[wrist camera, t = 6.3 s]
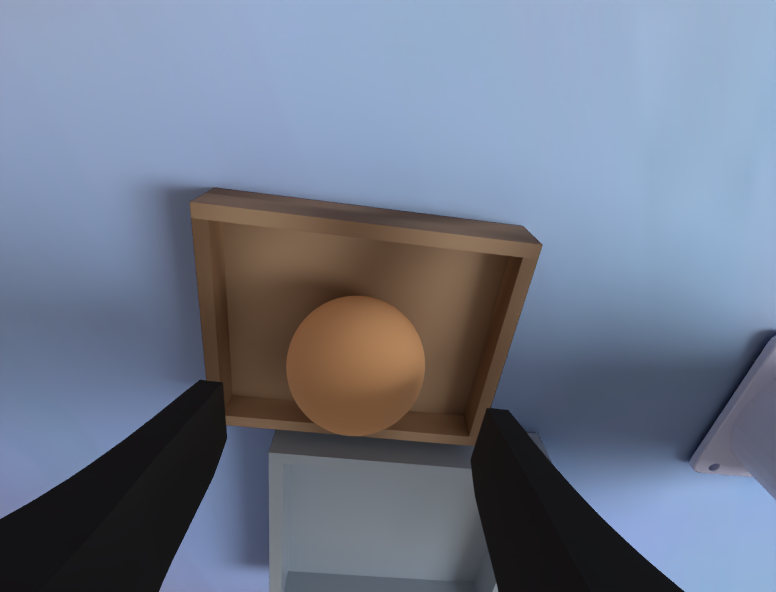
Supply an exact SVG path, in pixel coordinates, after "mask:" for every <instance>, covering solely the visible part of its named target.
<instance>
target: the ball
mask: <svg viewBox="0 0 776 592" xmlns="http://www.w3.org/2000/svg"><path fill="white" fill-rule="evenodd" d="M286 372H287V379H288V384H289V388H290V391H291V393H292V396H293V398H294V400H295V402H296V403H297V405H298V407H299V408H300V409H301V410H302V412H303V413H304V414H305V415H306V416H307V417H308V418H309V419H310V420H311V421H313V422H314V423H315V424H317V425H318V426H320V427H322V428H324V429H326V430H328V431H330V432H333V433H336V434H340V435H346V436H364V435H370V434H373V433H377V432H379V431H382V430H384V429H386V428H388V427H390V426H392V425H393V424H395V423H396V422H397V421H398V420H400V419H401V418H402V417H403V416H404V415H405V414H406V413H407V412H408V411H409V410H410V408H411V407H412V405H413V404H414V402H415V401H416V399H417V397H418V395H419V393H420V390H421V387H422V384H423V380H424V373H425V355H424V350H423V346H422V343H421V340H420V337H419V335H418V333H417V331H416V330H415V328H414V326H413V325H412V323H411V322H410V321H409V319H408V318H407V317H406V316H405V315H404V314H403V313H401V312H400V311H399V310H398V309H397V308H395V307H394V306H392V305H390V304H389V303H387V302H384V301H382V300H379V299H376V298H372V297H367V296H346V297H341V298H337V299H334V300H331V301H329V302H327V303H324V304H323V305H321V306H320V307H318V308H316V309H315V310H314V311H312V312H311V313H310V314H309V315H308V316H307V317H306V318H305V319H304V320H303V322H302V323H301V324H300V325H299V327H298V328H297V330H296V332H295V334H294V336H293V338H292V340H291V342H290V346H289V349H288V354H287V361H286Z"/></svg>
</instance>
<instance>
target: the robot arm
mask: <svg viewBox="0 0 776 592" xmlns="http://www.w3.org/2000/svg"><path fill="white" fill-rule="evenodd" d="M226 440H227V432H226V417H225V403H224V389H223V382H215V381H205V380H199V381H198V382H197V383H195V384H194V385H193V386H191V387H190V388H189V389H188V390H186V391H185V392H184V393H183V394H181V395H180V396H179V397H178V398H177V399H175V400H174V401H173V402H172V403H170V404H169V405H168V406H167V407H165V408H164V409H163V410H162V411H160V412H159V413H158V414H157V415H156V416H154V417H153V418H152V419H150V420H149V421H148V422H147V423H145V424H144V425H143V426H141V427H140V428H139V429H138V430H136V431H135V432H134V433H132V434H131V435H130V436H128V437H127V438H126V439H124V440H123V441H122V442H120V443H119V444H118V445H116V446H115V447H113V448H112V449H111V450H109V451H108V452H106V453H105V454H104V455H102V456H101V457H99V458H98V459H97V460H95V461H94V462H92V463H91V464H90V465H88V466H87V467H85V468H84V469H82V470H81V471H79V472H78V473H76V474H75V475H73V476H72V477H70V478H69V479H67V480H66V481H64V482H63V483H61V484H59V485H58V486H56V487H54V488H53V489H51V490H50V491H48V492H46V493H45V494H43V495H42V496H40V497H38V498H37V499H35V500H33V501H32V502H30V503H28V504H27V505H25V506H23V507H21V508H19V509H18V510H16V511H14V512H12V513H10V514H9V515H7V516H5V517H3V518H2V519H0V592H159V590H160V588H161V585H162V583H163V580H164V578H165V576H166V574H167V571H168V569H169V567H170V565H171V562H172V560H173V558H174V556H175V554H176V552H177V550H178V548H179V546H180V544H181V542H182V540H183V538H184V536H185V534H186V532H187V530H188V528H189V526H190V524H191V522H192V520H193V518H194V516H195V514H196V511H197V509H198V507H199V505H200V503H201V501H202V499H203V497H204V495H205V493H206V491H207V489H208V487H209V485H210V483H211V480H212V478H213V476H214V474H215V471H216V468H217V466H218V463H219V460H220V457H221V454H222V451H223V448H224V446H225V443H226ZM470 461H471V470H472V479H473V486H474V493H475V499H476V503H477V507H478V512H479V516H480V520H481V524H482V528H483V532H484V536H485V540H486V544H487V548H488V552H489V556H490V560H491V564H492V568H493V572H494V576H495V580H496V584H497V588H498V592H684V591H683V590H682V589H681V588H679V587H678V586H677V585H676V584H675V583H674V582H672V581H671V580H670V579H669V578H668V577H666V576H665V575H664V574H663V573H662V572H660V571H659V570H658V569H657V568H656V567H655V566H653V565H652V564H651V563H650V562H649V561H648V560H646V559H645V558H644V557H643V556H642V555H641V554H640V553H639V552H637V551H636V550H635V549H634V548H633V547H632V546H631V545H630V544H629V543H628V542H627V541H626V540H625V539H624V538H622V537H621V536H620V535H619V534H618V533H617V532H616V531H615V530H614V529H613V528H612V527H611V526H610V525H609V524H608V523H607V522H606V521H605V520H604V519H603V518H602V517H601V516H600V515H599V514H598V513H597V512H596V511H595V510H594V509H593V508H592V507H591V506H590V505H589V504H588V503H587V502H586V501H585V500H584V499H583V498H582V497H581V495H580V494H579V493H578V492H577V491H576V490H575V489H574V488H573V487H572V486H571V485H570V484H569V482H568V481H567V480H566V479H565V478H564V477H563V476H562V475H561V473H560V472H559V471H558V470H557V469H556V468H555V466H554V465H553V464H552V463H551V462H550V461H549V459H548V458H547V457H546V456H545V455H544V453H543V452H542V451H541V450H540V449H539V447H538V446H537V445H536V444H535V442H534V441H533V440H532V439H531V438H530V436H529V435H528V434H527V433H526V431H525V430H524V429H523V428H522V426H521V425H520V424H519V423H518V421H517V420H516V419H515V418H514V417H513V415H512V414H511V413H510V412H509V411H508V410H502V409H492V408H486V412H485V415H484V418H483V421H482V424H481V428H480V431H479V434H478V437H477V440H476V443H475V447H474V450H473V453H472V456H471V459H470ZM689 464H690V466H691V467H692V468H693V469H694V470H695V471H696V472H699V473H710V474H722V475H734V476H746V477H754V478H755V479H756V480H757V481H758V482H759V483H760V484H761V485H762V486H763V487H764V488H765V489H766V490H767V492H768V493H769V494H770V495H771V496H772V497H773V498H774V499H775V500H776V335H775V336H774V337H772V338H771V339H770V340H769V341H768V343H767V344H766V346H765V347H764V349H763V350H762V352H761V353H760V355H759V356H758V358H757V360H756V361H755V363H754V364H753V366H752V367H751V369H750V370H749V372H748V373H747V375H746V376H745V378H744V379H743V381H742V382H741V384H740V385H739V387H738V388H737V390H736V391H735V393H734V394H733V396H732V397H731V399H730V400H729V402H728V403H727V405H726V406H725V408H724V409H723V411H722V412H721V414H720V415H719V417H718V418H717V420H716V421H715V423H714V424H713V426H712V427H711V429H710V430H709V432H708V433H707V435H706V436H705V438H704V439H703V441H702V442H701V444H700V445H699V447H698V448H697V450H696V451H695V453H694V454H693V456H692V457H691V459H690V462H689Z"/></svg>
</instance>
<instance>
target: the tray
mask: <svg viewBox="0 0 776 592" xmlns="http://www.w3.org/2000/svg"><path fill="white" fill-rule="evenodd" d="M190 211H191V221H192V232H193V243H194V253H195V264H196V275H197V286H198V296H199V307H200V318H201V328H202V339H203V350H204V360H205V371H206V381H215V382H223V389H224V403H225V417H226V425H231V426H243V427H254V428H266V429H278V430H290V431H301V432H313V433H325V434H336V433H333V432H330V431H328V430H326V429H324V428H322V427H320V426H318V425H317V424H315V423H314V422H313V421H311V420H310V419H309V418H308V417H307V416H306V415H305V414H304V413H303V412H302V410H301V409H300V408H299V407H298V405H297V403H296V402H295V400H294V398H293V396H292V393H291V391H290V388H289V384H288V379H287V372H286V361H287V354H288V349H289V346H290V342H291V340H292V338H293V336H294V334H295V332H296V330H297V328H298V327H299V325H300V324H301V323H302V322H303V320H304V319H305V318H306V317H307V316H308V315H309V314H310V313H311V312H312V311H314V310H315V309H316V308H318V307H320V306H321V305H323V304H324V303H327V302H329V301H331V300H334V299H337V298H341V297H346V296H367V297H372V298H376V299H379V300H382V301H384V302H387V303H389V304H390V305H392V306H394V307H395V308H397V309H398V310H399V311H400V312H401V313H403V314H404V315H405V316H406V317H407V318H408V319H409V321H410V322H411V323H412V325H413V326H414V328H415V330H416V331H417V333H418V335H419V337H420V340H421V343H422V346H423V350H424V355H425V373H424V380H423V384H422V387H421V390H420V393H419V395H418V397H417V399H416V401H415V402H414V404H413V405H412V407H411V408H410V410H409V411H408V412H407V413H406V414H405V415H404V416H403V417H402V418H401V419H400V420H398V421H397V422H396V423H395V424H393V425H392V426H390V427H388V428H386V429H384V430H382V431H379V432H377V433H373V434H370V435H364V436H360V437H372V438H384V439H395V440H407V441H419V442H431V443H442V444H454V445H466V446H475V443H476V440H477V437H478V434H479V431H480V428H481V424H482V421H483V418H484V415H485V412H486V408H491V405H492V401H493V398H494V395H495V392H496V389H497V386H498V383H499V380H500V376H501V373H502V370H503V367H504V364H505V361H506V358H507V355H508V351H509V348H510V345H511V342H512V339H513V336H514V333H515V330H516V326H517V323H518V320H519V317H520V314H521V311H522V308H523V305H524V301H525V298H526V295H527V292H528V289H529V286H530V283H531V280H532V276H533V273H534V270H535V267H536V264H537V261H538V258H539V254H540V251H541V248H542V244H541V243H540V242H539V241H538V240H537V239H536V238H535V237H534V236H533V235H532V234H531V233H530V232H529V231H528V230H527V229H526V228H524V227H523V226H518V225H510V224H502V223H494V222H486V221H478V220H470V219H462V218H454V217H446V216H438V215H430V214H422V213H414V212H406V211H398V210H390V209H382V208H374V207H366V206H358V205H350V204H342V203H334V202H326V201H318V200H310V199H302V198H294V197H286V196H278V195H270V194H262V193H254V192H246V191H238V190H230V189H222V188H213V189H211V190H209V191H208V192H206V193H204V194H202V195H201V196H199V197H197V198H195V199H194V200H192V201H190ZM337 435H340V434H337Z"/></svg>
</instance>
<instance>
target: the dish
mask: <svg viewBox="0 0 776 592" xmlns="http://www.w3.org/2000/svg"><path fill="white" fill-rule="evenodd" d="M526 433H527V434H528V435H529V436H530V438H531V439H532V440H533V441H534V442H535V444H536V445H537V446H538V447H539V449H540V450H541V451H542V452H543V453H544V455H545V456H546V457H547V458H548V459H549V461H550V458H549V456H548V454H547V452H546V450H545V447H544V445H543V443H542V441H541V439H540V436H539V434H538V433H528V432H526ZM474 447H475V446H466V445H454V444H442V443H431V442H419V441H407V440H395V439H384V438H372V437H360V436H346V435H337V434H325V433H313V432H301V431H290V430H278V429H276V431H275V434H274V437H273V440H272V443H271V447H270V450H269V592H498V588H497V584H496V580H495V576H494V572H493V568H492V564H491V560H490V556H489V552H488V548H487V544H486V540H485V536H484V532H483V528H482V524H481V520H480V516H479V512H478V507H477V503H476V499H475V493H474V486H473V479H472V470H471V461H470V459H471V456H472V453H473V450H474ZM550 462H551V461H550Z"/></svg>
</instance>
